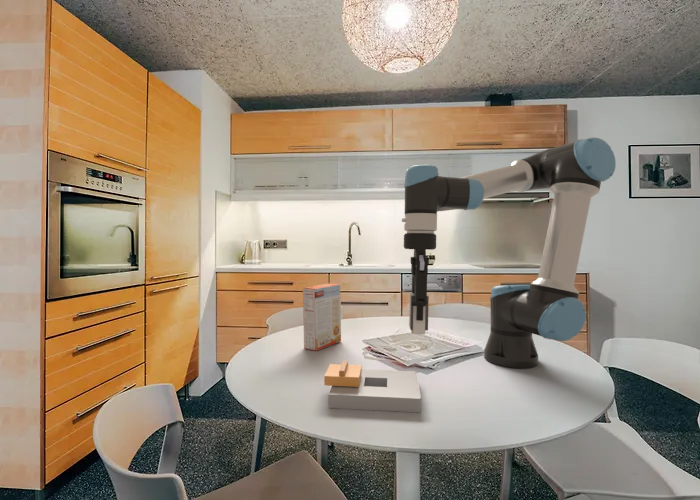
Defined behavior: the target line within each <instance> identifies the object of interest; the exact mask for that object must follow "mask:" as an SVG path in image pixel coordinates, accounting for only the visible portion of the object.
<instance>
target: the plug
mask: <svg viewBox="0 0 700 500" xmlns="http://www.w3.org/2000/svg"><path fill="white" fill-rule="evenodd" d="M429 297H430V296H429V294H427V304H426V305H425V306H426V309H425V331H426V332H427V331H429ZM411 303H414V293H412V292H410V293H409V320H408V322H409V323H408V326H409V329H410V331H411V334H413V306H411Z"/></svg>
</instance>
